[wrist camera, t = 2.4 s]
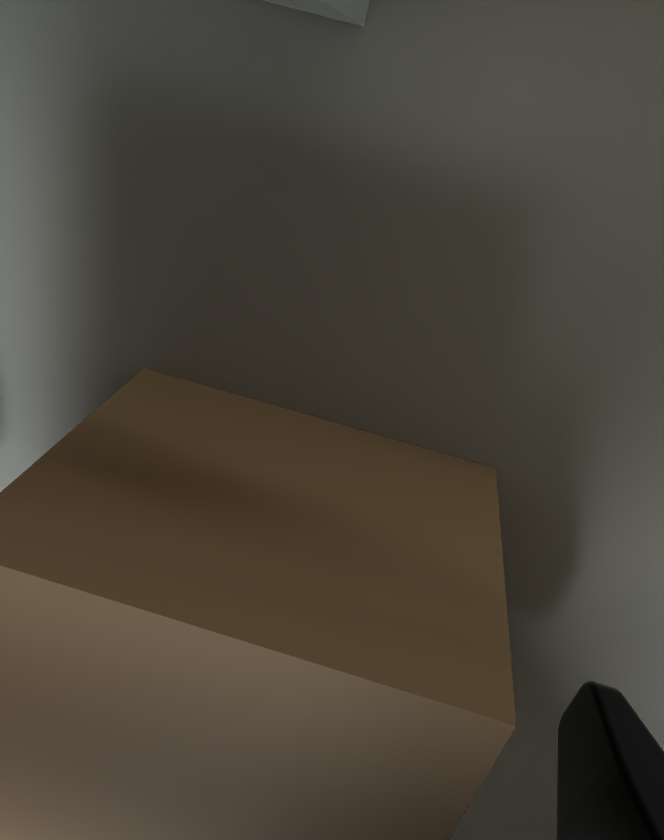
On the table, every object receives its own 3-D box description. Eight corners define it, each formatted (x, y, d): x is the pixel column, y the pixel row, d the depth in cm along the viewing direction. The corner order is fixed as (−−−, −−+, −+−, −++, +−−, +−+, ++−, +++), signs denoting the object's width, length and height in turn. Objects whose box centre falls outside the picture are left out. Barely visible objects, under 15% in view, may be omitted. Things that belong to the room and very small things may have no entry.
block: (398, 693, 11) (367, 976, 7) (131, 609, 11) (-20, 843, 8) (495, 463, 8) (516, 726, 5) (148, 363, 9) (-63, 545, 5)
